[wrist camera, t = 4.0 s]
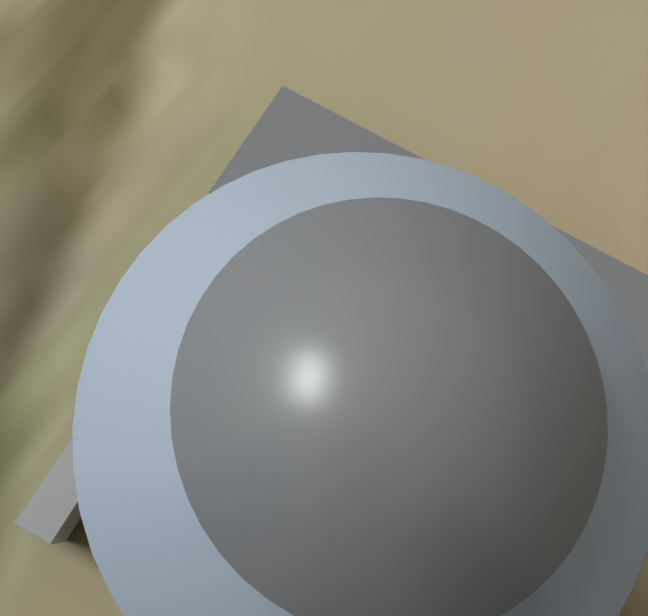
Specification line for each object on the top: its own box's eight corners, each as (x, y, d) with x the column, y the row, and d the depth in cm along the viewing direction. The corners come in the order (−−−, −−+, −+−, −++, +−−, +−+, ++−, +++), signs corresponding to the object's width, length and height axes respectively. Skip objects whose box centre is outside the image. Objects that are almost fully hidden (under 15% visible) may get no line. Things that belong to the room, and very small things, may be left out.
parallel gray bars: (20, 513, 16) (-19, 515, 14) (281, 125, 20) (282, 81, 18) (901, 1044, 14) (1013, 1141, 12) (993, 499, 18) (1089, 499, 16)
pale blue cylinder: (259, 604, 16) (211, 1000, 3) (182, 426, 17) (-60, 237, 5) (427, 512, 17) (862, 561, 4) (344, 349, 18) (505, 27, 6)
